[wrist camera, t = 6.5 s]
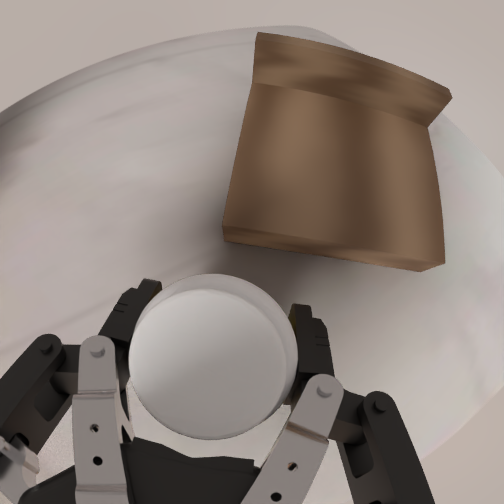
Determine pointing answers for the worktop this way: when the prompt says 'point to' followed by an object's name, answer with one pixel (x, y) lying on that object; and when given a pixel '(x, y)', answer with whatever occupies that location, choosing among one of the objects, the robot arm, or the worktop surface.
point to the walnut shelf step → (337, 158)
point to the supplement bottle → (212, 356)
